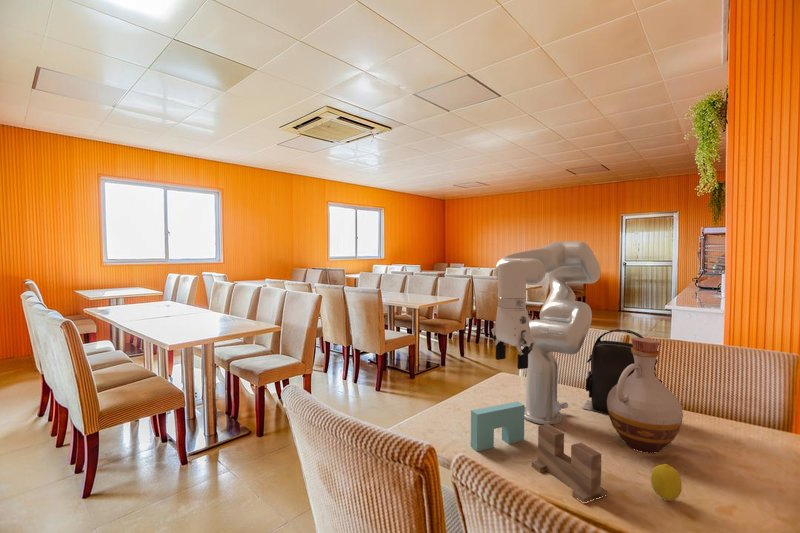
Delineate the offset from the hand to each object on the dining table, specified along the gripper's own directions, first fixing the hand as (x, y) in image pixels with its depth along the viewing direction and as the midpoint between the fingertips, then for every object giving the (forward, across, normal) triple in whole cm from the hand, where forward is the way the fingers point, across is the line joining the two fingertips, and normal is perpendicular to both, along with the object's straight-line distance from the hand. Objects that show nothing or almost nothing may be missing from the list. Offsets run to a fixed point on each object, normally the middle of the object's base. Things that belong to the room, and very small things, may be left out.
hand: (511, 363), depth 112 cm
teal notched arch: (+22, 0, +5) cm, 23 cm away
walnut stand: (+22, -21, 0) cm, 31 cm away
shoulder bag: (+23, +1, -46) cm, 52 cm away
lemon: (+22, -35, -14) cm, 44 cm away
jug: (+22, -17, -31) cm, 42 cm away
